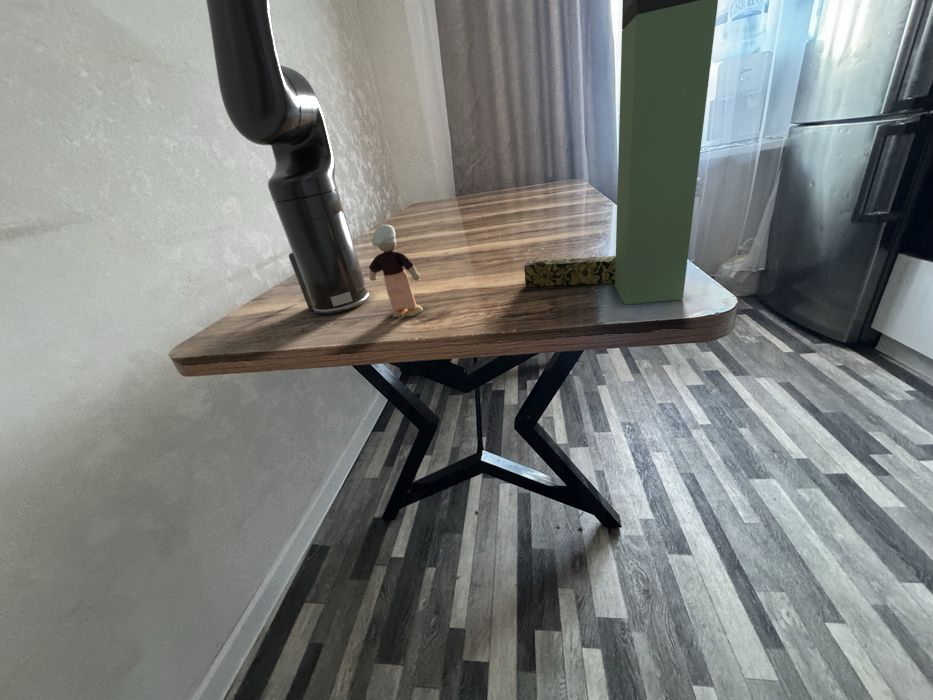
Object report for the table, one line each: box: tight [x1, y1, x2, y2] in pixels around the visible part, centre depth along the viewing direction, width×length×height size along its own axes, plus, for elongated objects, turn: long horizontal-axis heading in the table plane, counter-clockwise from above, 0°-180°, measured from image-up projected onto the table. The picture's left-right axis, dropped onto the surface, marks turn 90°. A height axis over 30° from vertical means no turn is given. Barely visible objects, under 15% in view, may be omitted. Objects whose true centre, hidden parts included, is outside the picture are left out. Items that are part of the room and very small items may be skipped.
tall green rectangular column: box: [614, 0, 719, 305], centre depth 42 cm, size 7×7×32 cm
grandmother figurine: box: [368, 224, 424, 318], centre depth 54 cm, size 8×4×13 cm, turn 84°
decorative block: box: [523, 255, 616, 288], centre depth 55 cm, size 15×2×4 cm, turn 72°
